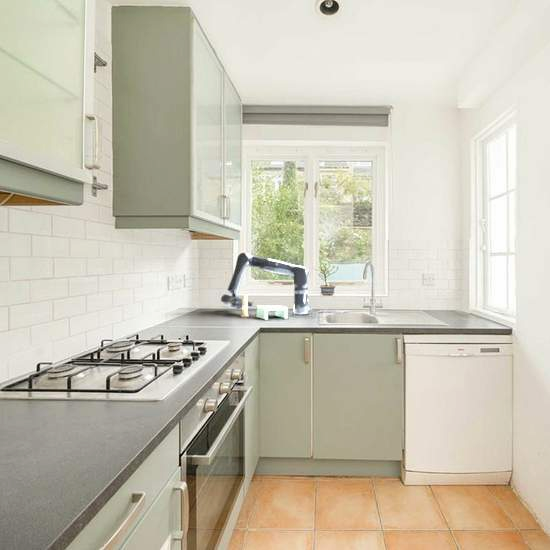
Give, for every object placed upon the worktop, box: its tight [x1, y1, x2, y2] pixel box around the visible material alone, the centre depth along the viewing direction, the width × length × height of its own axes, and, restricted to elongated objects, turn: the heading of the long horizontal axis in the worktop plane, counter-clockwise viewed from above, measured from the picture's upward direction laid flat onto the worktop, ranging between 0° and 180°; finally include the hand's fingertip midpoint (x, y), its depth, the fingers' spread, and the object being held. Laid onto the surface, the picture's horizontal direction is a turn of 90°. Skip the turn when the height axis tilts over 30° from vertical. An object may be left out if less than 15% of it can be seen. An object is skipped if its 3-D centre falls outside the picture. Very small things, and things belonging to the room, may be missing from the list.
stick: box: [240, 294, 249, 318], centre depth 304 cm, size 5×5×14 cm
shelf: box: [255, 304, 289, 320], centre depth 299 cm, size 16×14×7 cm
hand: (245, 305), depth 302 cm, fingers open, 8 cm apart
